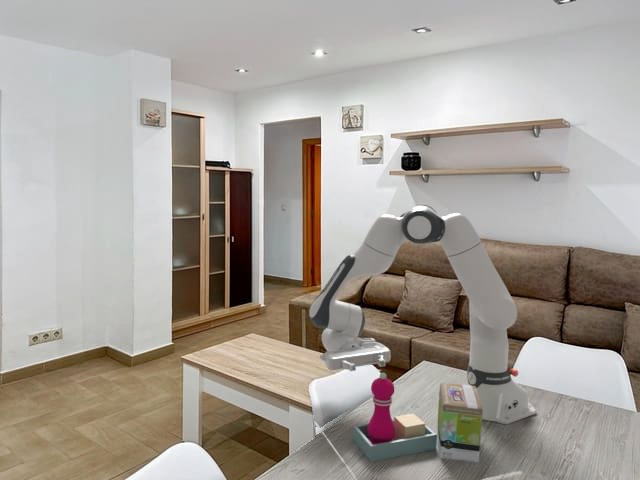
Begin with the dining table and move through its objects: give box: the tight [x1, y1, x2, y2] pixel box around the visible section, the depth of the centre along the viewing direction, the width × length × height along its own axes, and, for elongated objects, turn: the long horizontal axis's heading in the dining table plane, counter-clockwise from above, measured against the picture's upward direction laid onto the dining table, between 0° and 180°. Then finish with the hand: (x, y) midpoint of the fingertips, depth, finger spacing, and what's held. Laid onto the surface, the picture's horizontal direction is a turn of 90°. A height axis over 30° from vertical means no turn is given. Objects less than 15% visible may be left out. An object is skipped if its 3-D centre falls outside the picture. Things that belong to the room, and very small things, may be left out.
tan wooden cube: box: [393, 413, 426, 440], centre depth 127 cm, size 6×6×6 cm
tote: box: [352, 418, 438, 463], centre depth 125 cm, size 19×11×4 cm, turn 110°
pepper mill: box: [368, 372, 395, 445], centre depth 123 cm, size 7×7×20 cm
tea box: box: [436, 382, 483, 463], centre depth 125 cm, size 15×10×15 cm, turn 168°
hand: (368, 366), depth 135 cm, fingers open, 8 cm apart
